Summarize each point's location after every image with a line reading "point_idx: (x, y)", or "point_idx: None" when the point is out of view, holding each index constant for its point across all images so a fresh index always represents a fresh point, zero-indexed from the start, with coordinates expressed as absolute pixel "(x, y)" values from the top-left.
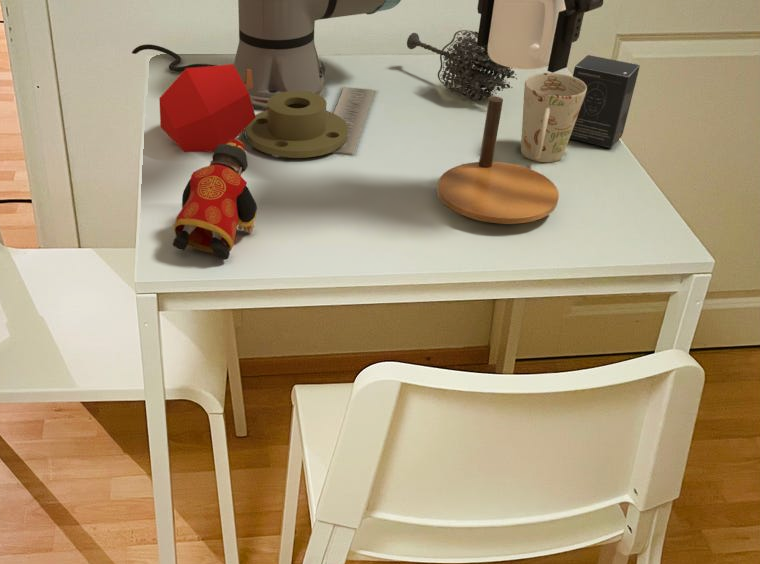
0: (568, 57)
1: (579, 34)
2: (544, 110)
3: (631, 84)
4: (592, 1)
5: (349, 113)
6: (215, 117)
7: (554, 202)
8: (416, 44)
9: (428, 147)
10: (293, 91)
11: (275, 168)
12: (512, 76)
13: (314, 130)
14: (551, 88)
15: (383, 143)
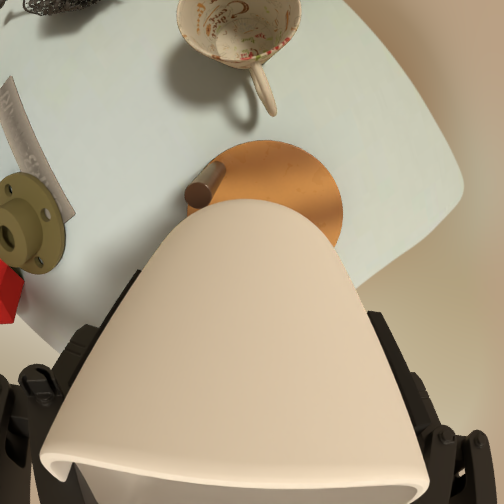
0: (387, 327)
1: (423, 385)
2: (249, 63)
3: None
4: (457, 473)
5: (20, 141)
6: (13, 314)
7: (340, 211)
8: (3, 2)
9: (115, 132)
10: None
11: (61, 281)
12: None
13: (37, 237)
14: None
15: (76, 165)
